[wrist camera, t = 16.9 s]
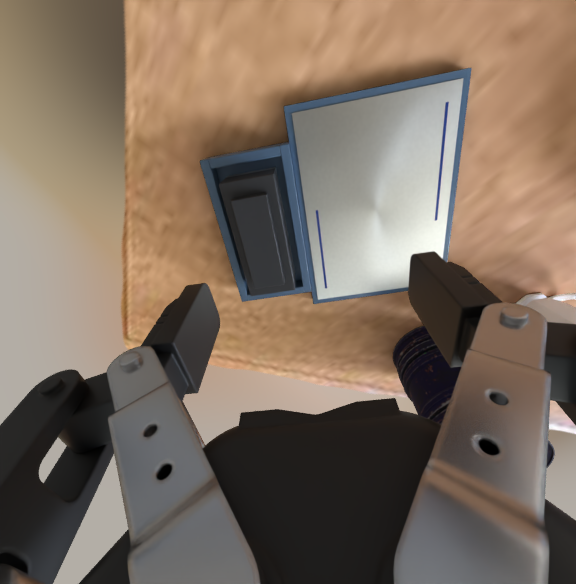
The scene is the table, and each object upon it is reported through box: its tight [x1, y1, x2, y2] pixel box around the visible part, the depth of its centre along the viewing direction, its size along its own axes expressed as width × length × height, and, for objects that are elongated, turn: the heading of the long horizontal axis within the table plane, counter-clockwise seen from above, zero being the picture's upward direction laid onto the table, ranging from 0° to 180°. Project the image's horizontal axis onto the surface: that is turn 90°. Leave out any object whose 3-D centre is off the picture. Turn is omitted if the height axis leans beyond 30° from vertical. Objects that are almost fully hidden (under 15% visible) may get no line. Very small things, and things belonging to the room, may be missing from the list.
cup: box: [515, 293, 576, 324], centre depth 31 cm, size 7×10×8 cm
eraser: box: [219, 167, 295, 296], centre depth 27 cm, size 11×5×5 cm, turn 10°
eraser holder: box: [200, 142, 311, 302], centre depth 29 cm, size 15×8×3 cm, turn 10°
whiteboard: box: [284, 68, 471, 304], centre depth 28 cm, size 20×15×1 cm
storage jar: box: [393, 326, 555, 468], centre depth 33 cm, size 10×10×15 cm
